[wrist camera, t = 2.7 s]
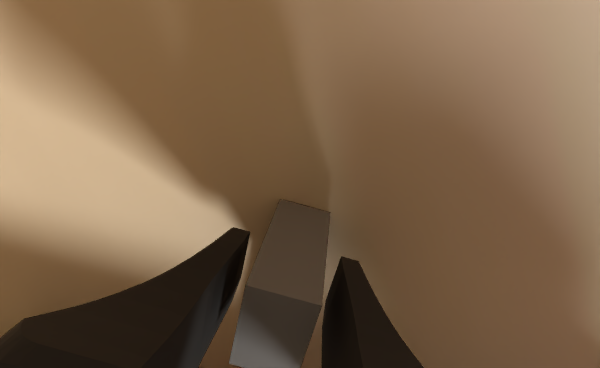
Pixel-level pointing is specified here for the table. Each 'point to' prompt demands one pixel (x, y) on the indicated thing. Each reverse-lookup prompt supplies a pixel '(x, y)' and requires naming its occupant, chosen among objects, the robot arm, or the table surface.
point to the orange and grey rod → (283, 290)
